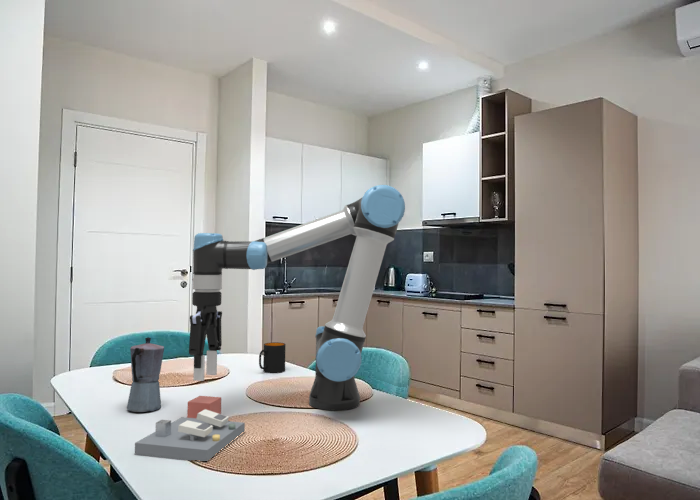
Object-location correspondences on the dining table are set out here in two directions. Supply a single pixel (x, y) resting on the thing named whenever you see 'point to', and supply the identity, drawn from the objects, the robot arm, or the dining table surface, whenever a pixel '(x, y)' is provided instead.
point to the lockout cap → (203, 405)
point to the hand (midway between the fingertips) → (205, 377)
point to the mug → (273, 358)
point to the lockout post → (163, 428)
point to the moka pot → (145, 377)
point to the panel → (189, 442)
